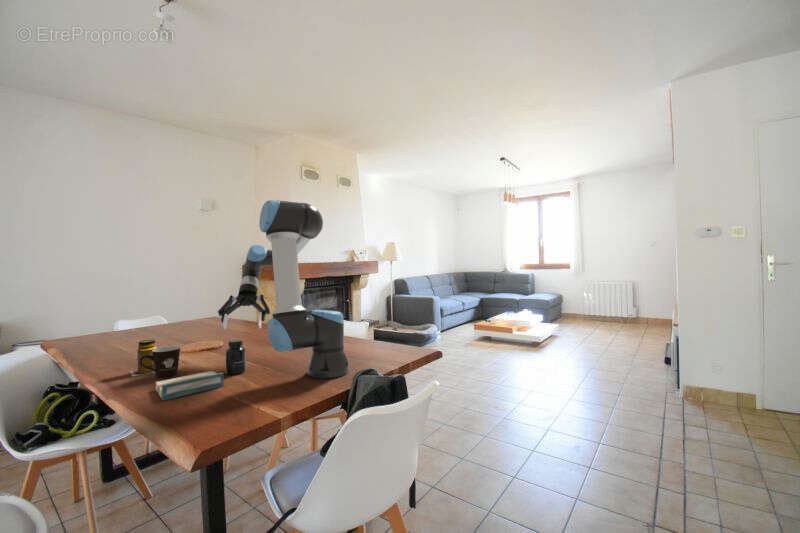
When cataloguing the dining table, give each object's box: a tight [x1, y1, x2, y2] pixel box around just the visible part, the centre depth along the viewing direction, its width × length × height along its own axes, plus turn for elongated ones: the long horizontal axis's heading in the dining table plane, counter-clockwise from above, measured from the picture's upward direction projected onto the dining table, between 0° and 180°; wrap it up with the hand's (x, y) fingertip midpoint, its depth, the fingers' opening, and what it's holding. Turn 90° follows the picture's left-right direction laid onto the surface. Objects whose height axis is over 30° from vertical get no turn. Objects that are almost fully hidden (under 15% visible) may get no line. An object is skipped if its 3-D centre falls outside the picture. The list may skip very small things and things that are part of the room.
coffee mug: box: [140, 345, 181, 380], centre depth 128 cm, size 12×9×10 cm
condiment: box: [129, 339, 158, 377], centre depth 133 cm, size 7×8×12 cm
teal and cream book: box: [155, 370, 224, 401], centre depth 115 cm, size 13×17×4 cm
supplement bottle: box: [225, 339, 247, 376], centre depth 131 cm, size 7×7×12 cm
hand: (241, 327), depth 142 cm, fingers open, 13 cm apart
